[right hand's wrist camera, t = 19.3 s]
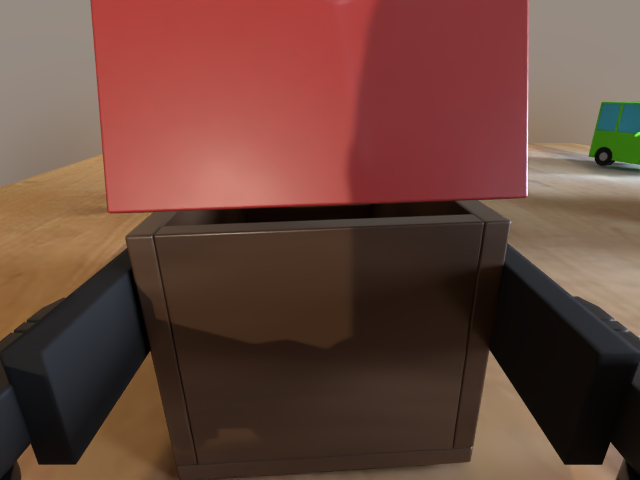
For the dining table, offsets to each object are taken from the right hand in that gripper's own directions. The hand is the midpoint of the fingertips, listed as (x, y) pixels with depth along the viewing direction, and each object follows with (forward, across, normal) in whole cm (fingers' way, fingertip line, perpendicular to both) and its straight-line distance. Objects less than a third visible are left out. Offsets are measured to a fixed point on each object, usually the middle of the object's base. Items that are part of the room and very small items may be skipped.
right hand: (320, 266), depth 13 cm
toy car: (+50, +52, -6) cm, 72 cm away
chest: (+5, 0, -6) cm, 8 cm away
